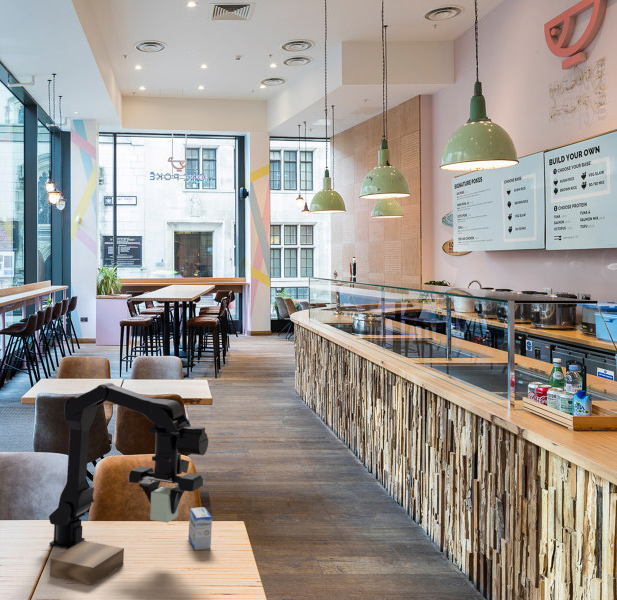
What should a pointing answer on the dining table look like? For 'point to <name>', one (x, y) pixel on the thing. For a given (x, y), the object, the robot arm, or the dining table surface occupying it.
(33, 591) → the dining table surface
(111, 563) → the walnut base
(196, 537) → the medicine box
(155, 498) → the sage block
